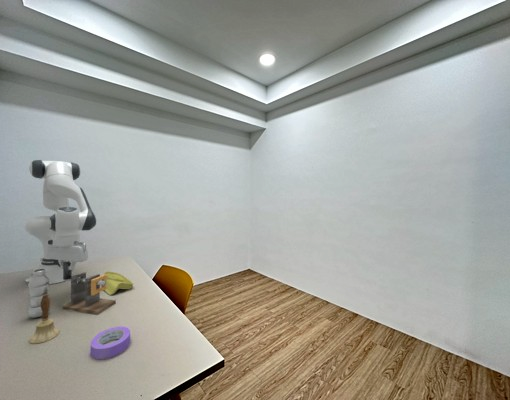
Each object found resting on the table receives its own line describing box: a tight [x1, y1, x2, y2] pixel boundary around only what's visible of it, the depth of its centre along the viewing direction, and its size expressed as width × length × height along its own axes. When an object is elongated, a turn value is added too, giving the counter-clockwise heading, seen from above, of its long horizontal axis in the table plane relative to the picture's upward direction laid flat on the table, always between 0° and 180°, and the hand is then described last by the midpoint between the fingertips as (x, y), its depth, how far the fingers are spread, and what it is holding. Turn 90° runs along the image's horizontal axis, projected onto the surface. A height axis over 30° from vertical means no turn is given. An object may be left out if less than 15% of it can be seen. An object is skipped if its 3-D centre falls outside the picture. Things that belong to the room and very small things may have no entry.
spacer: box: [91, 273, 107, 295], centre depth 100 cm, size 1×7×7 cm, turn 169°
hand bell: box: [28, 293, 61, 345], centre depth 80 cm, size 8×8×16 cm
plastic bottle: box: [27, 269, 51, 319], centre depth 92 cm, size 6×7×20 cm
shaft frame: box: [61, 272, 117, 315], centre depth 101 cm, size 19×10×14 cm, turn 80°
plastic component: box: [104, 270, 134, 296], centre depth 122 cm, size 20×7×10 cm
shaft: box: [63, 261, 106, 286], centre depth 102 cm, size 23×3×9 cm, turn 80°
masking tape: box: [90, 326, 131, 360], centre depth 76 cm, size 12×12×4 cm
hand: (67, 269), depth 103 cm, fingers closed on shaft, 3 cm apart
